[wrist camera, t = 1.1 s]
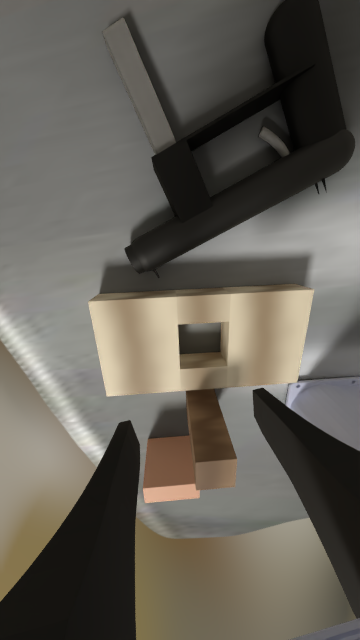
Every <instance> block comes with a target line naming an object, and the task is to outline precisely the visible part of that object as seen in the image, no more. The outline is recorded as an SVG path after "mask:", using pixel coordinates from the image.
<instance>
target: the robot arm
mask: <svg viewBox="0 0 360 640" xmlns="http://www.w3.org/2000/svg"><path fill="white" fill-rule="evenodd" d="M253 405H254V417H255V419H256V421H257V423H258V425H259V427H260V429H261V431H262V434H263V435H264V437H265V439H266V440H267V442H268V444H269V445H270V447H271V449H272V450H273V452H274V453H275V455H276V457H277V458H278V460H279V462H280V463H281V465H282V466H283V468H284V470H285V471H286V473H287V475H288V476H289V478H290V480H291V482H292V484H293V485H294V487H295V489H296V491H297V493H298V495H299V497H300V499H301V501H302V503H303V505H304V507H305V509H306V511H307V513H308V515H309V517H310V519H311V521H312V523H313V525H314V527H315V529H316V532H317V534H318V536H319V538H320V540H321V542H322V544H323V546H324V549H325V551H326V553H327V555H328V557H329V559H330V561H331V564H332V565H333V568H334V570H335V572H336V575H337V577H338V579H339V581H340V583H341V585H342V588H343V590H344V592H345V594H346V597H347V599H348V601H349V604H350V606H351V608H352V610H353V612H354V614H355V616H356V618H357V619H355V620H352V621H348V622H345V623H342V624H339V625H336V626H332V627H329V628H325V629H322V630H319V631H316V632H313V633H310V634H306V635H303V636H299V637H296V638H293V639H290V640H360V377H346V378H332V379H318V380H305V381H297V383H289V386H288V392H287V398H286V404H283V403H282V402H281V401H279V400H278V399H277V398H275V397H274V396H273V395H272V394H270V393H269V392H268V391H267V390H265V389H264V388H260V389H256V390H253ZM139 471H140V444H139V441H138V439H137V436H136V434H135V431H134V428H133V426H132V423H131V421H130V420H128V421H124V422H120V423H119V424H118V426H117V428H116V431H115V433H114V435H113V437H112V439H111V441H110V443H109V445H108V448H107V450H106V452H105V453H104V455H103V457H102V459H101V461H100V463H99V465H98V467H97V469H96V471H95V472H94V474H93V476H92V478H91V479H90V481H89V483H88V485H87V486H86V488H85V490H84V491H83V493H82V495H81V496H80V498H79V499H78V501H77V502H76V504H75V506H74V507H73V509H72V510H71V512H70V513H69V515H68V516H67V517H66V519H65V520H64V522H63V523H62V525H61V526H60V528H59V529H58V530H57V532H56V533H55V535H54V536H53V537H52V539H51V540H50V541H49V543H48V544H47V545H46V546H45V548H44V549H43V550H42V552H41V553H40V554H39V556H38V557H37V558H36V560H35V561H34V562H33V563H32V565H31V566H30V567H29V569H28V570H27V571H26V572H25V574H24V575H23V576H22V577H21V578H20V579H19V581H18V582H17V583H16V584H15V585H14V587H13V588H12V589H11V590H10V591H9V592H8V594H7V595H6V596H5V597H4V598H3V600H2V601H1V602H0V640H136V623H135V519H136V506H137V494H138V483H139Z"/></svg>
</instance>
